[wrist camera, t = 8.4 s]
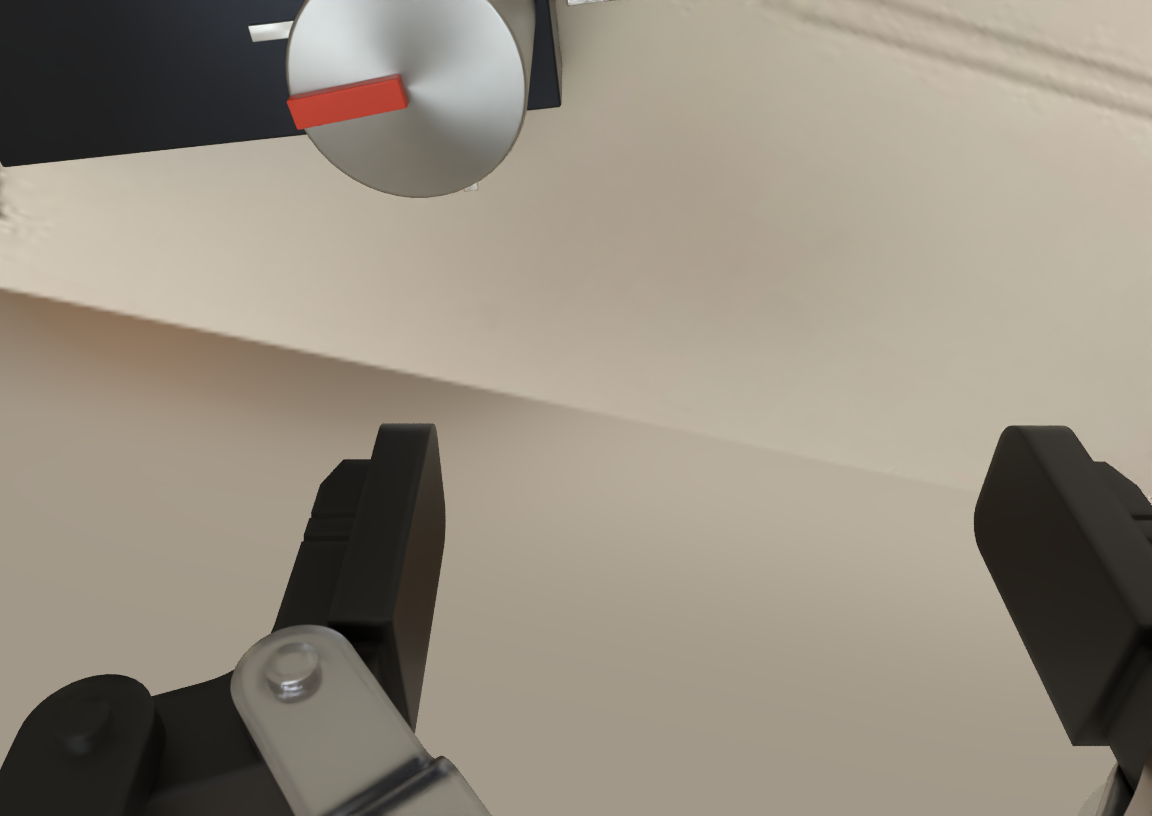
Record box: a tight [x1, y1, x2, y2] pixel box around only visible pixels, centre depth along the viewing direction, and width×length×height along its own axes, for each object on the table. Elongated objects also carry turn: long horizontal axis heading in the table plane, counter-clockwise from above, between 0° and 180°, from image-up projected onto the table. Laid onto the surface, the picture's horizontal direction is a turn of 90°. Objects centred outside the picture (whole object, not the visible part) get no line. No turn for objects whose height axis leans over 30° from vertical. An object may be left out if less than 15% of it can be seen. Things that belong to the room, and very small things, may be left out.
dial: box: [285, 0, 536, 198], centre depth 19 cm, size 4×4×5 cm
